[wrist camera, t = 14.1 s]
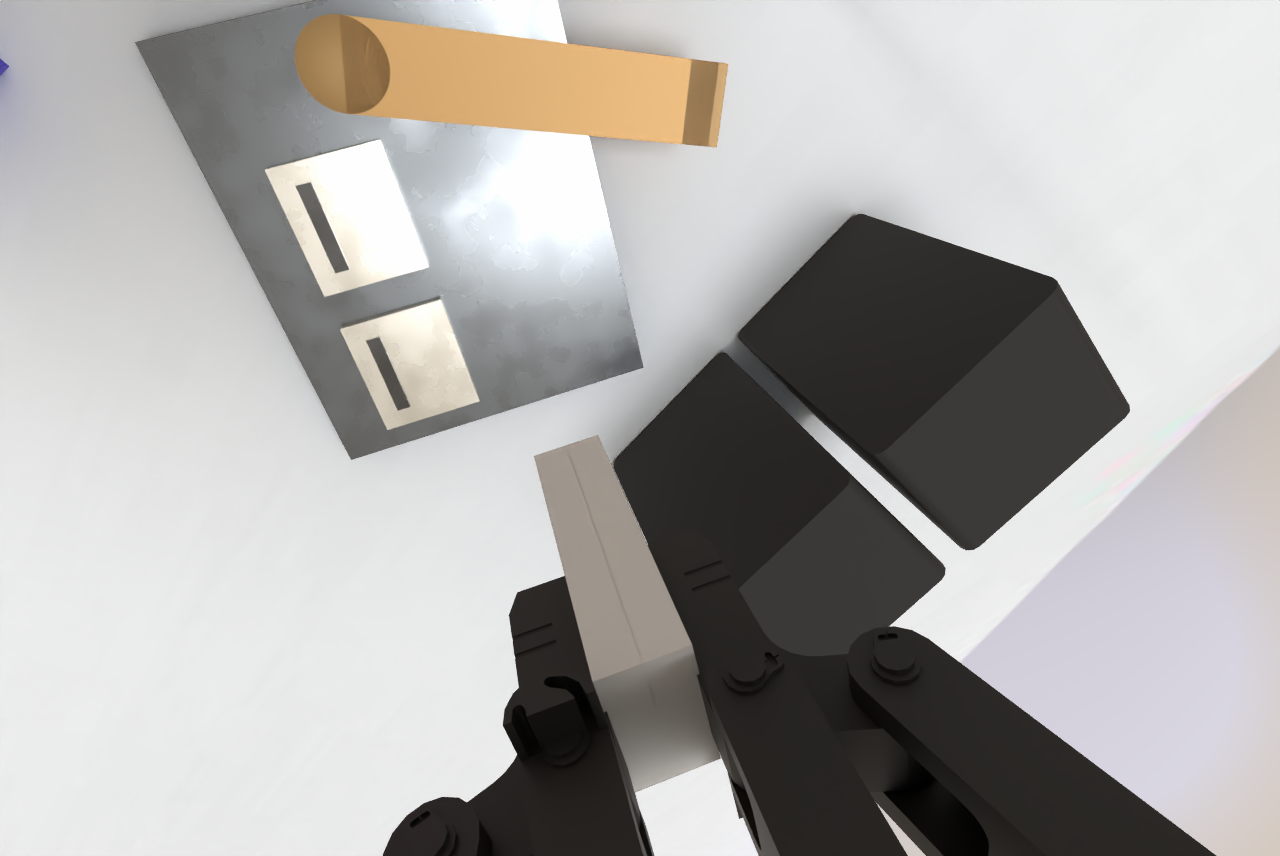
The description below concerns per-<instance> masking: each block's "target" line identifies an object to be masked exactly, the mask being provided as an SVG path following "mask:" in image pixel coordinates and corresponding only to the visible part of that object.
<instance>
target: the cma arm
mask: <svg viewBox="0 0 1280 856" xmlns="http://www.w3.org/2000/svg"><path fill="white" fill-rule="evenodd" d="M295 64H296V69H297V72H298V75H299V77H300V80H301V81H302V83H303V85H304V87H305V88H306V89H307V91H308V92H309V93H310V94H311V95H312V97H313V98H315V99H316V100H317V101H318V102H319V103H321V104H322V105H324V106H325V107H327V108H329V109H331V110H333V111H336V112H340V113H345V114H354V115H365V116H376V117H387V118H398V119H409V120H420V121H431V122H443V123H454V124H465V125H476V126H487V127H498V128H509V129H520V130H531V131H542V132H553V133H564V134H575V135H586V136H598V137H609V138H620V139H631V140H642V141H653V142H664V143H675V144H686V145H697V146H708V147H717V142H718V135H719V127H720V120H721V113H722V106H723V98H724V91H725V84H726V76H727V69H728V64H726V63H718V62H710V61H702V60H694V59H686V58H679V57H671V56H663V55H655V54H647V53H639V52H631V51H623V50H616V49H608V48H600V47H592V46H584V45H576V44H568V43H561V42H553V41H545V40H537V39H529V38H521V37H513V36H505V35H498V34H490V33H482V32H474V31H466V30H458V29H450V28H442V27H435V26H427V25H419V24H411V23H403V22H395V21H387V20H379V19H372V18H364V17H356V16H348V15H340V14H327V15H323V16H319V17H317V18H315V19H313V20H312V21H310V22H309V23H308V24H307V25H305V27H304V28H303V29H302V30H301V32H300V34H299V36H298V38H297V41H296V45H295Z"/></svg>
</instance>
